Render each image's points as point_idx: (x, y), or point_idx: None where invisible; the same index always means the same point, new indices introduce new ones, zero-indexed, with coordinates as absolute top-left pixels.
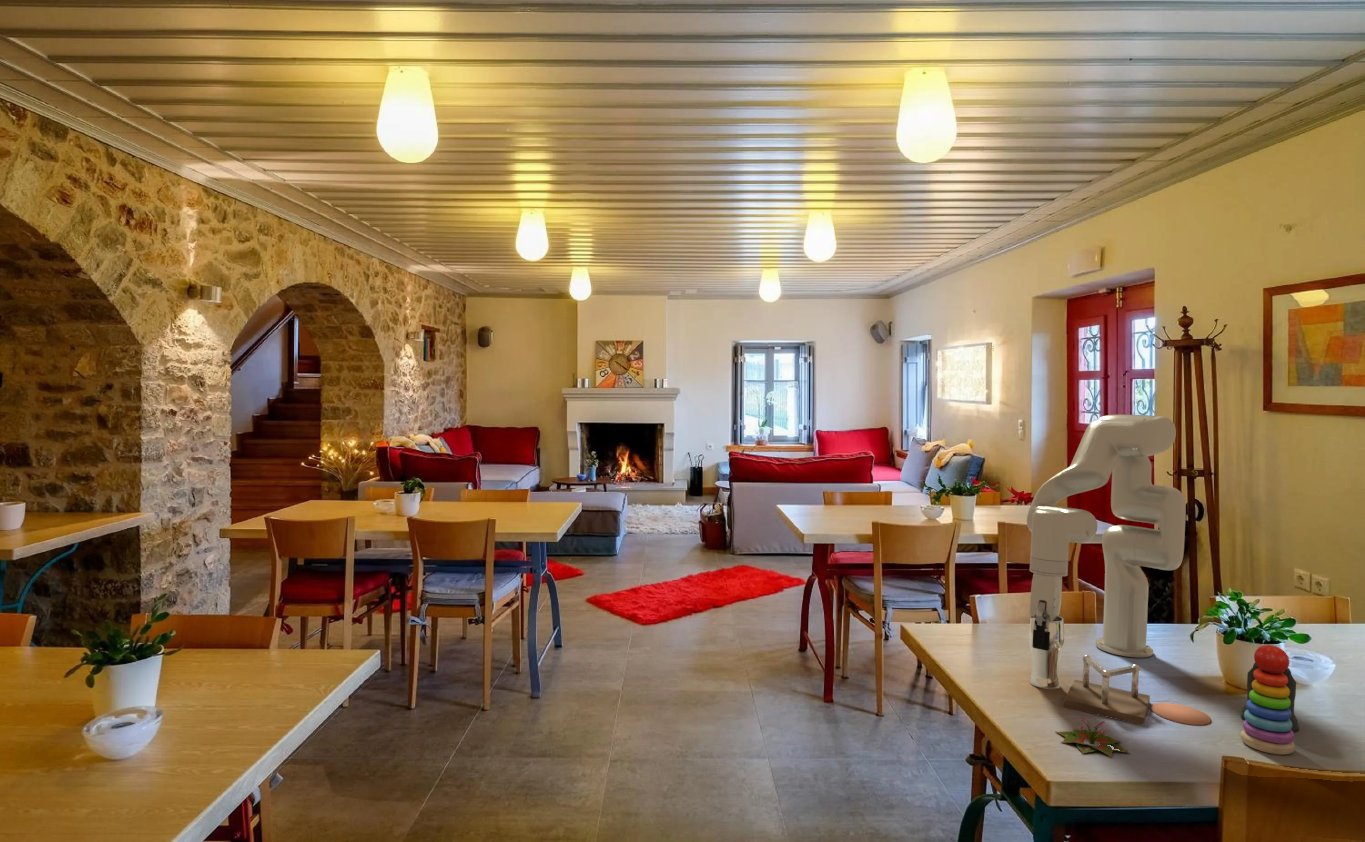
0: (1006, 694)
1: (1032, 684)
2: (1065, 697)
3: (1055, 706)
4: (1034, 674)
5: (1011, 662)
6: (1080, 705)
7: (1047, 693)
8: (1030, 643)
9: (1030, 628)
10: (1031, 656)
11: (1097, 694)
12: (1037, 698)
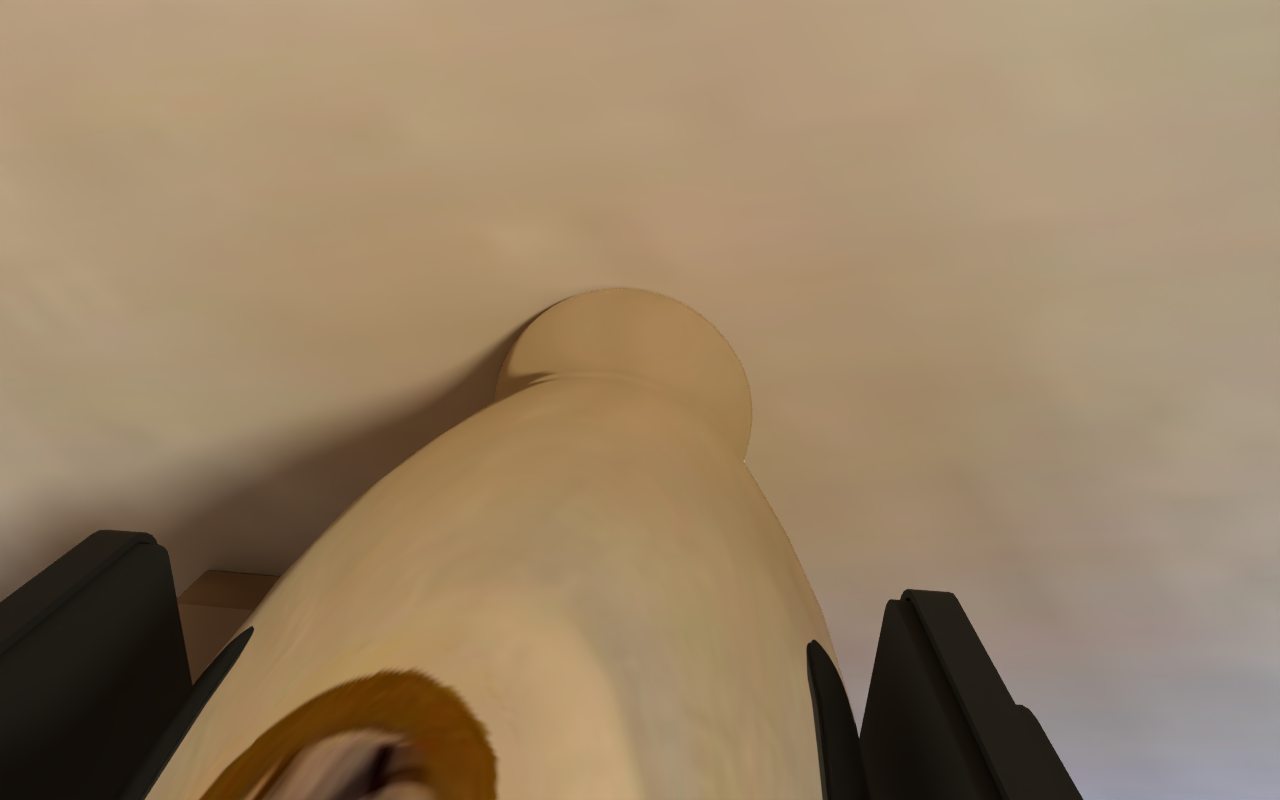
0: (120, 145)
1: (532, 322)
2: (228, 610)
3: (172, 521)
4: (519, 366)
5: (1189, 13)
6: None
7: (412, 450)
8: (422, 452)
9: (307, 604)
10: (525, 386)
11: None
12: (235, 393)
